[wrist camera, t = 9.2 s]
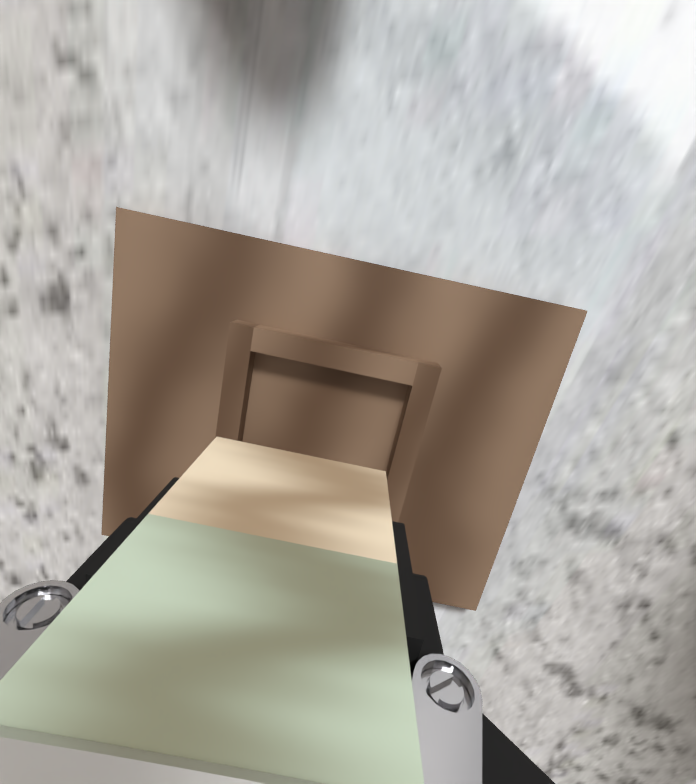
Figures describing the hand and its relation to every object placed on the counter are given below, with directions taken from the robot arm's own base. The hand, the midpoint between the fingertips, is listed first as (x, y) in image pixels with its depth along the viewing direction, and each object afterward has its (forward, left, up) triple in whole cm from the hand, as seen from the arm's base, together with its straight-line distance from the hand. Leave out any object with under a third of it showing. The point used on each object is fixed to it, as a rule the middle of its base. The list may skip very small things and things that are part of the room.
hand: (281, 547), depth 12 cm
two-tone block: (0, 0, -1) cm, 1 cm away
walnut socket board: (0, 0, -9) cm, 9 cm away
